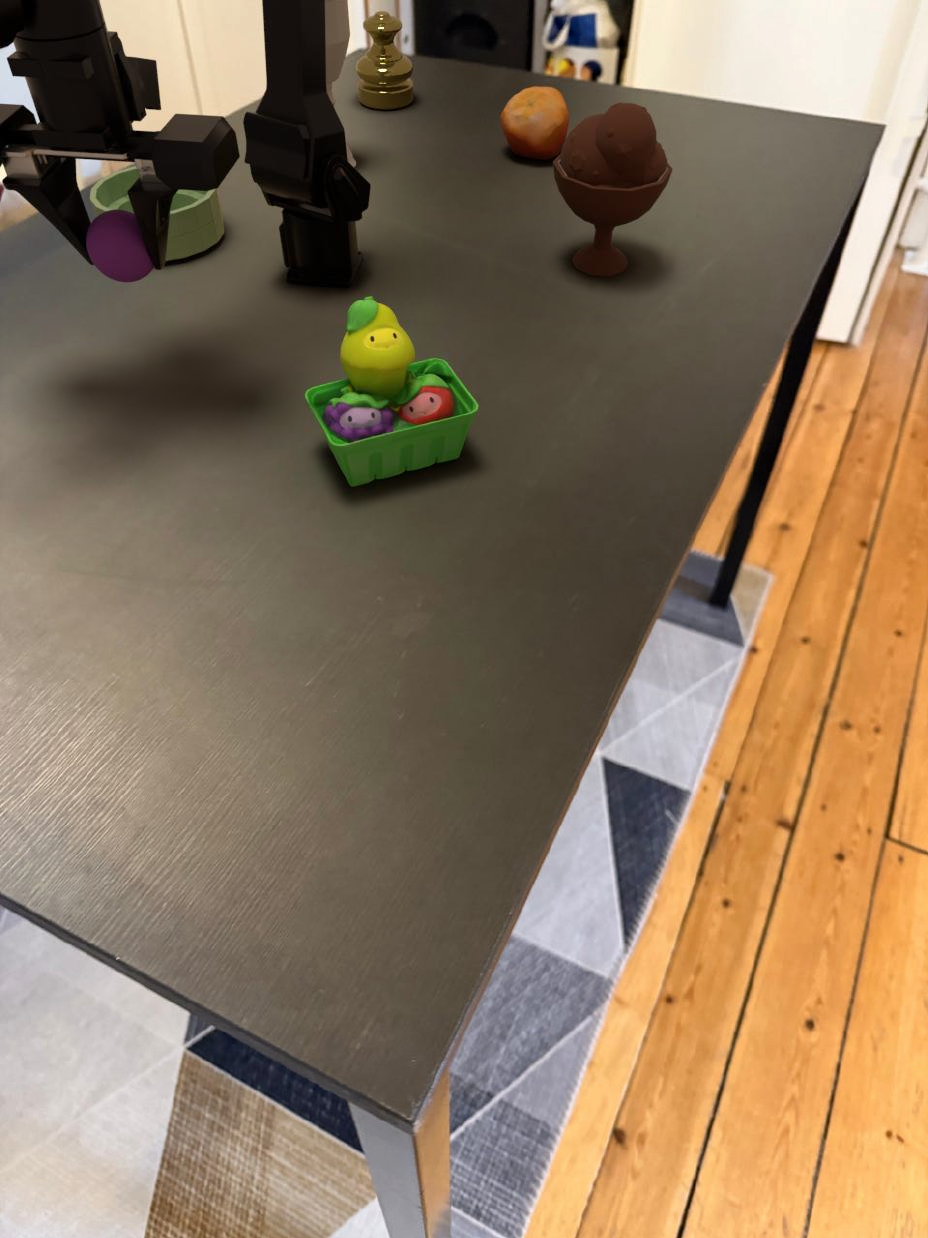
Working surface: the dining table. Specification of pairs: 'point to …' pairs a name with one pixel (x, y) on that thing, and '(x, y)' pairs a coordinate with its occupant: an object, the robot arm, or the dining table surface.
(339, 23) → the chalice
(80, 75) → the robot arm
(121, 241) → the ball
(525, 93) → the fruit
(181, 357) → the dining table surface
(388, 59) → the gold chess piece
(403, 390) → the fruit basket
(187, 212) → the green bowl
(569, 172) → the ice cream bowl
